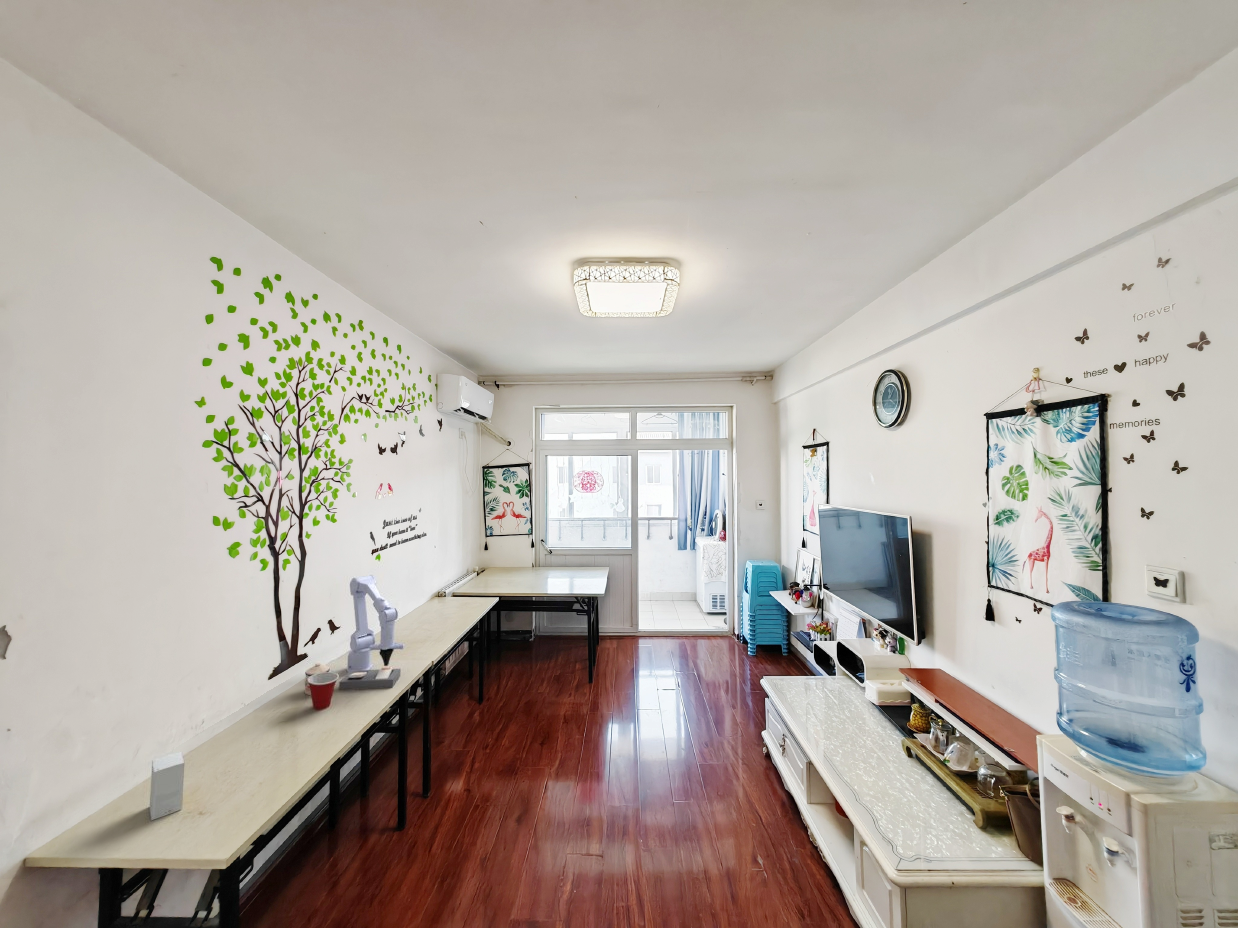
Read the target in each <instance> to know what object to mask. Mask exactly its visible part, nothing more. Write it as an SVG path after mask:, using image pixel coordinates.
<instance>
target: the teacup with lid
mask: <svg viewBox="0 0 1238 928" xmlns="http://www.w3.org/2000/svg"><path fill="white" fill-rule="evenodd" d="M330 670H331V669H330V667H329V666H328V665H323V664H321V662H317V663H315V664H314V665H313V666H312V667H309V668H308V669H306V671H305V672H304V673H305V680H304V682H305V683H304V687H305V688H304V693H305V694H306V695H307V696H311V691H310V685H309V682H308V678H309V677H310V676H312V675H314V674H317V673H322V672H330Z"/></svg>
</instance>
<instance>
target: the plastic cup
mask: <svg viewBox="0 0 1238 928" xmlns="http://www.w3.org/2000/svg"><path fill="white" fill-rule="evenodd" d="M339 677H340V675H339V674H338V673H336V672H332V671H331V672H330V671H329V672H322V673H317V674H314V675H312V676H310V677H309V678H308V682H309V685H310V691H311V695H310V697H311V702H312V708H313V709H314V711H321V710H325V709H328V708H329V707H330V705H331V702H332V698H333V695H334V692H335V691H334V690H335V686H336V683H337V680H338V679H339Z"/></svg>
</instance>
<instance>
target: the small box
mask: <svg viewBox="0 0 1238 928" xmlns="http://www.w3.org/2000/svg"><path fill="white" fill-rule="evenodd" d="M151 763H152V764H151V776H150V778H151V779H150V793H149V794H150V795H149V813H150V814H149V815H150V819H151V821H153V820H156V819H160V818H162V817H165V816H167V815H170V814H172V813H176V812H178V811H181V810H182V809H183V800H184V798H183V796H184V781H185V780H184V778H185V776H184V775H185V760H184V755H183V751H178V752H174V753H171V754H167V755H165V756H161V757H158V758H157V757H156V758H153V759H152V760H151Z"/></svg>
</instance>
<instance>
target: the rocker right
mask: <svg viewBox="0 0 1238 928" xmlns="http://www.w3.org/2000/svg"><path fill="white" fill-rule="evenodd" d="M392 669H394V668H393V666H383V667H380V670H379V672H378V674H377V676H376V678H375V679H384V678H389V675H390V673H391V671H392Z"/></svg>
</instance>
